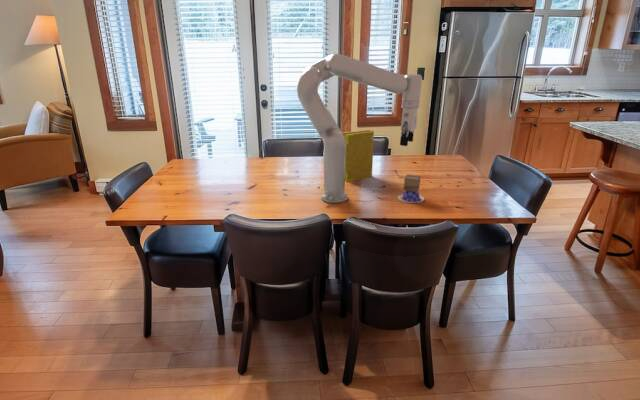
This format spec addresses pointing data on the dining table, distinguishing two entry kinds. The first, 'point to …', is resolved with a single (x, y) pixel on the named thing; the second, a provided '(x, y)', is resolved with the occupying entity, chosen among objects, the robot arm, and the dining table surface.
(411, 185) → the walnut cube
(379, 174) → the dining table surface
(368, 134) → the book
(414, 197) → the pudding
